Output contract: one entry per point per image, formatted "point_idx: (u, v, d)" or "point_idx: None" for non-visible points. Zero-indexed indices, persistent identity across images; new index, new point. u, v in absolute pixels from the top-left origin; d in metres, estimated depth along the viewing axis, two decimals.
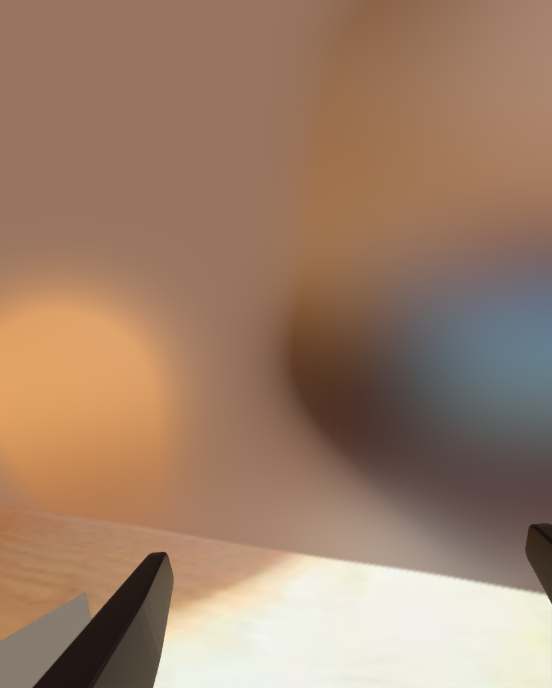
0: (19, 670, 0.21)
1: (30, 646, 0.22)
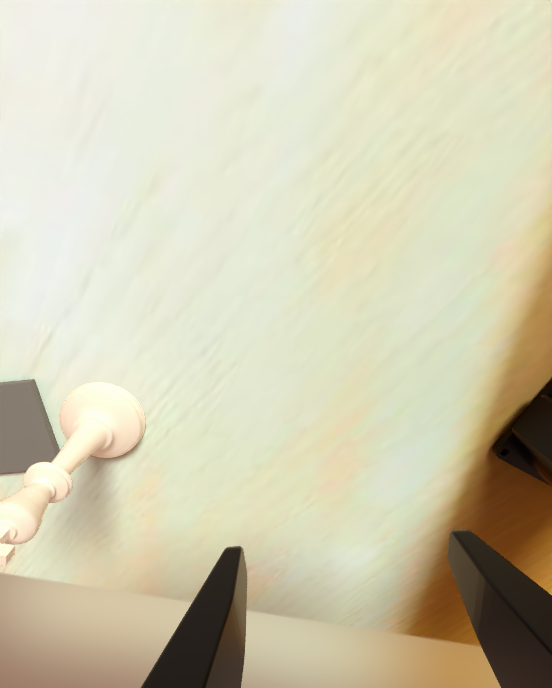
0: None
1: None
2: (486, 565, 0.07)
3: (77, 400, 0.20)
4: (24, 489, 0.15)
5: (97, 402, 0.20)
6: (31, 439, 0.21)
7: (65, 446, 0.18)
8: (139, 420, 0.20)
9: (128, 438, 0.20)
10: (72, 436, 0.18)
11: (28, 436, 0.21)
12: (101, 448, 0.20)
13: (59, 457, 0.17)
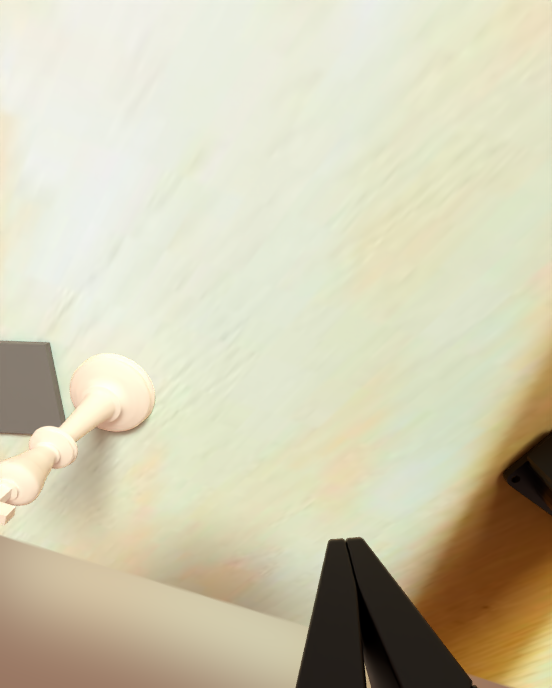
0: None
1: None
2: (364, 574, 0.07)
3: (90, 369, 0.19)
4: (30, 451, 0.14)
5: (110, 374, 0.19)
6: (38, 402, 0.21)
7: (74, 413, 0.17)
8: (149, 397, 0.20)
9: (136, 414, 0.20)
10: (81, 404, 0.18)
11: (35, 399, 0.21)
12: (108, 420, 0.20)
13: (67, 423, 0.16)
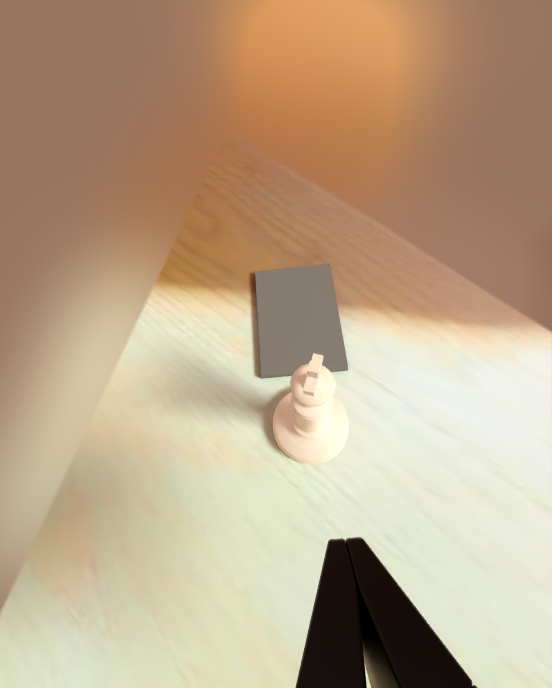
0: (283, 299, 0.26)
1: (288, 285, 0.27)
2: (364, 574, 0.07)
3: (337, 407, 0.22)
4: None
5: (337, 425, 0.21)
6: (291, 358, 0.24)
7: None
8: (315, 461, 0.21)
9: (298, 448, 0.21)
10: None
11: (294, 356, 0.24)
12: (294, 424, 0.21)
13: None
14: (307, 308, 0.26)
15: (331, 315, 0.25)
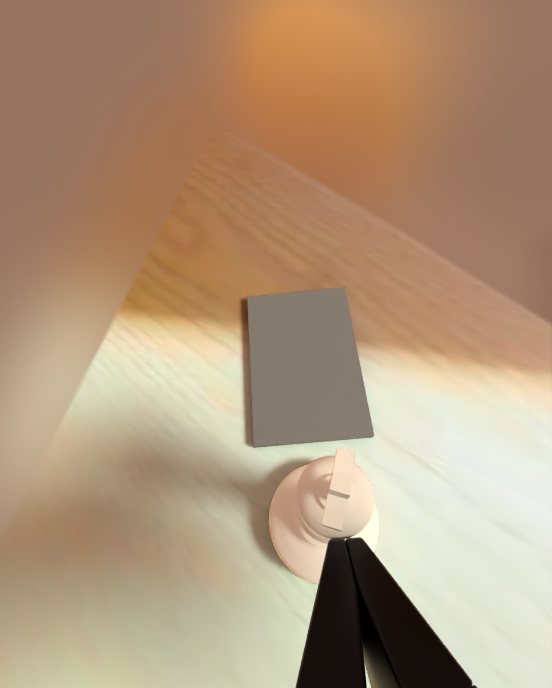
0: (283, 335, 0.20)
1: (291, 316, 0.20)
2: (364, 574, 0.07)
3: None
4: None
5: None
6: (296, 419, 0.18)
7: None
8: None
9: (306, 563, 0.14)
10: None
11: (300, 416, 0.18)
12: (301, 526, 0.14)
13: None
14: (316, 348, 0.19)
15: (348, 358, 0.19)
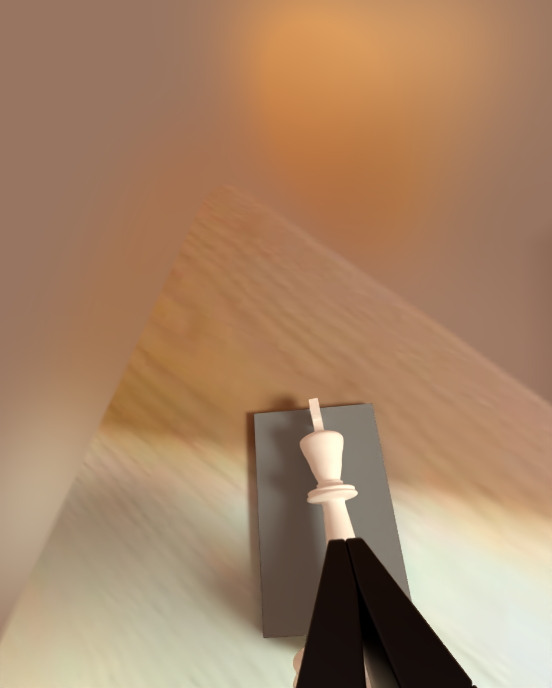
0: (299, 470, 0.16)
1: None
2: (364, 574, 0.07)
3: None
4: None
5: None
6: None
7: None
8: None
9: None
10: None
11: None
12: None
13: None
14: None
15: (380, 508, 0.15)
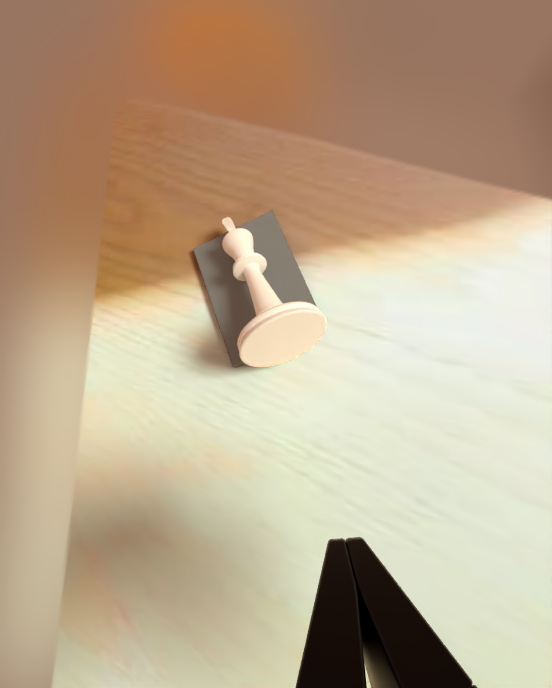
0: (232, 270, 0.23)
1: None
2: (364, 574, 0.07)
3: None
4: (253, 250, 0.21)
5: None
6: None
7: None
8: (278, 305, 0.16)
9: None
10: None
11: None
12: None
13: (264, 277, 0.20)
14: None
15: (290, 270, 0.22)
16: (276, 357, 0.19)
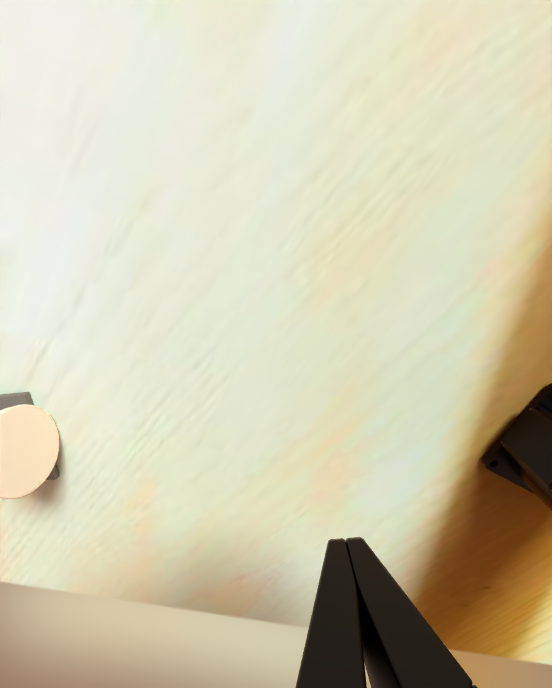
0: None
1: None
2: (364, 574, 0.07)
3: None
4: None
5: None
6: None
7: None
8: None
9: None
10: None
11: None
12: None
13: None
14: None
15: None
16: (45, 450, 0.20)
